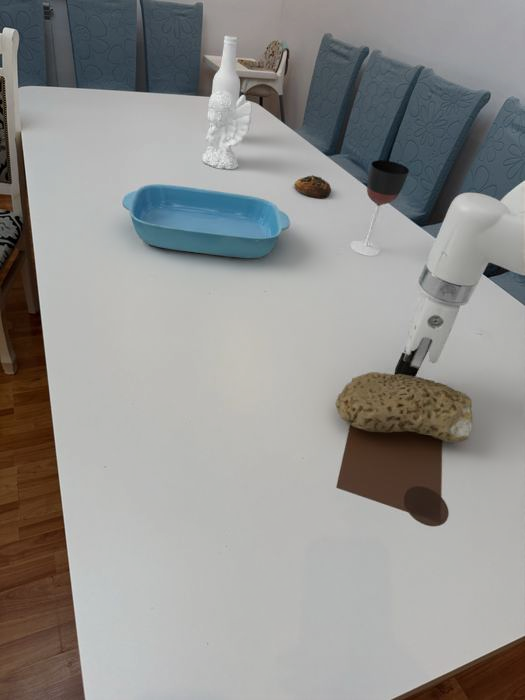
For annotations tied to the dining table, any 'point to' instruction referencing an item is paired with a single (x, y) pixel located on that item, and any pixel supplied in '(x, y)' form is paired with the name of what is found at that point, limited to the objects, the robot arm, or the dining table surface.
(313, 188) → the bread roll
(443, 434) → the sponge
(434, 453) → the brown panel with disc
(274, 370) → the dining table surface
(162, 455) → the dining table surface
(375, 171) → the wineglass
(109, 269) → the dining table surface
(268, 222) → the casserole dish
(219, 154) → the cherub figurine
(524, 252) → the robot arm
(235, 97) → the alcohol
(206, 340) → the dining table surface
